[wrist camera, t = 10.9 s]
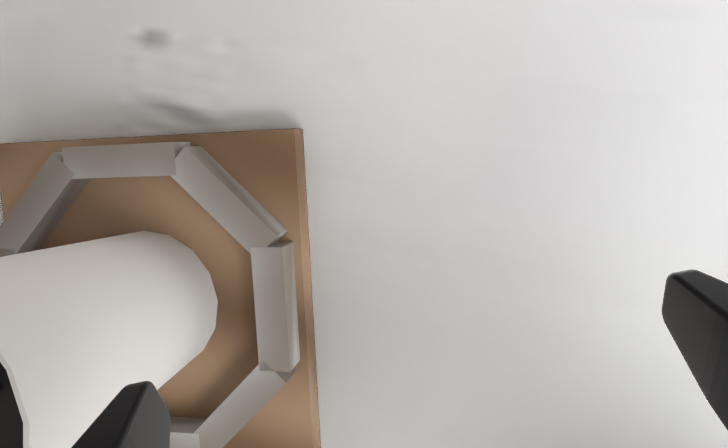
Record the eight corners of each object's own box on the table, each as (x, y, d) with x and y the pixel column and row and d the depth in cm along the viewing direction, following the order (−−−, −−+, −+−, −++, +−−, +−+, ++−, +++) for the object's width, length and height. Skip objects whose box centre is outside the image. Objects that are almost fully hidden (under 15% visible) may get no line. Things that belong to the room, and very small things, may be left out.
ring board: (320, 448, 23) (304, 478, 21) (49, 428, 26) (10, 454, 24) (302, 129, 22) (282, 127, 19) (13, 143, 24) (-32, 144, 22)
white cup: (53, 260, 24) (-248, 342, 14) (180, 191, 22) (-59, 230, 12) (125, 401, 24) (-122, 580, 14) (256, 345, 22) (80, 503, 12)
